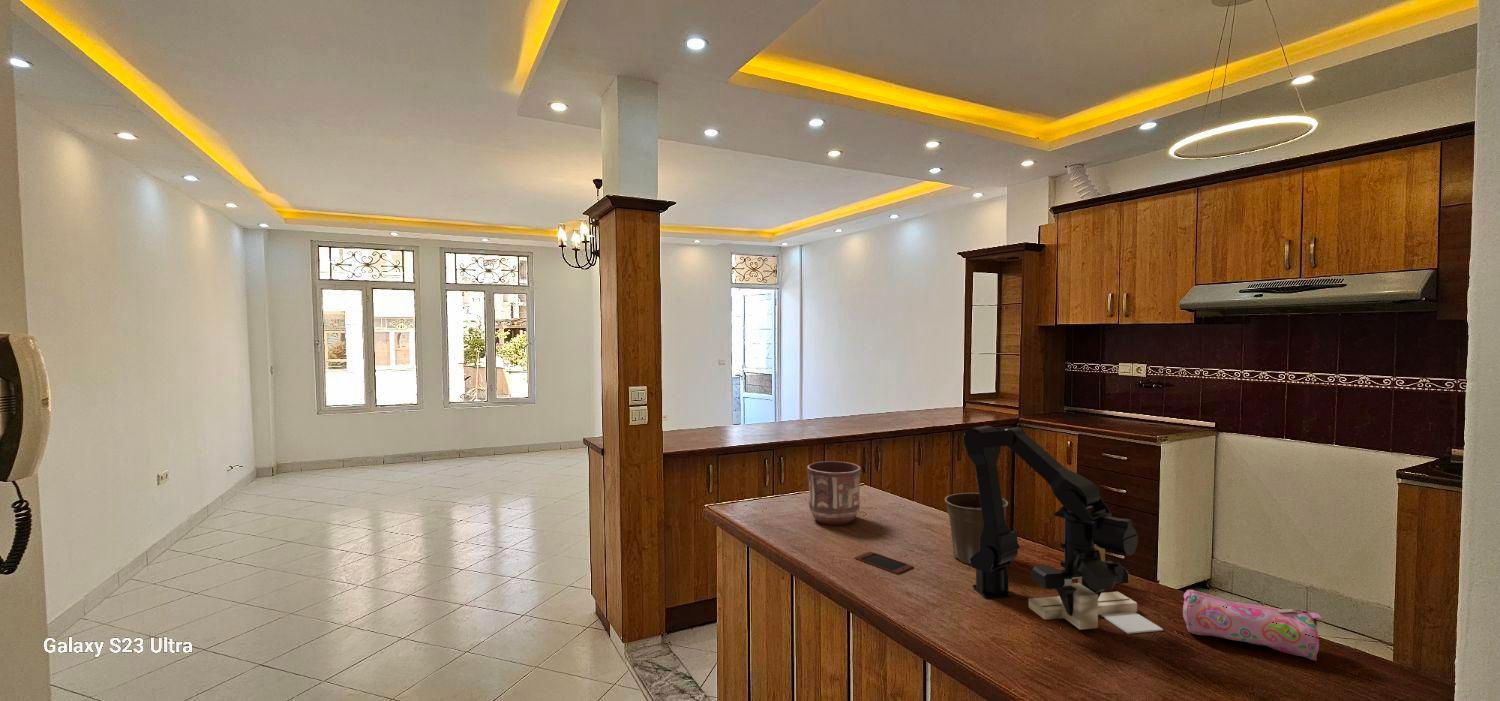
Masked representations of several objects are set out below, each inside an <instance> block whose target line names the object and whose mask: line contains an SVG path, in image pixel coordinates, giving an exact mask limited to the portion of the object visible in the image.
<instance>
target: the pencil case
mask: <svg viewBox="0 0 1500 701" xmlns="http://www.w3.org/2000/svg"><path fill="white" fill-rule="evenodd" d="M1183 598H1184V599H1183V607H1182V615H1183V620H1184V622H1185V625H1186V628H1187V631H1188V633H1191V634H1193V635H1197V636H1206V637H1207V636H1210V637H1216V638H1222V639H1226V640H1229V641H1230V640H1231V641H1237V642H1238V641H1239V642H1245V643H1248V644H1252V645H1258V646H1266V647H1268V648H1271V649H1273V650H1275V651H1278V652H1280V653H1285V654H1290V655H1293V656H1297V657H1303V658H1305V659H1308V660H1310V661H1314V662H1316V661H1317V660H1318V659H1317V655H1318V653H1319V648H1320V638H1319V633H1318V632H1319V631H1318V628H1317V623H1318V622H1317V620H1319V621H1323V618H1322V616H1321V615H1320V614H1319V613H1317V612H1309V611H1308V610H1305V609H1303V610H1302V609H1300V608H1294V609H1291V608H1288V609H1284V608H1283V609H1282V608H1277V607H1269V606H1264V605H1259V604H1258V605H1256V604H1254V603H1253V604H1252V603H1251V604H1250V603H1243V602H1237V601H1233V600H1227V599H1225V598H1224V599H1223V598H1221V597H1217V596H1214V595H1211V594H1208V593H1205V592H1201V591H1198V590H1194V589H1186V591H1185V592H1184V594H1183ZM1223 606H1224V607H1223ZM1226 607H1227V608H1226ZM1272 622H1274V623H1272ZM1276 623H1277V624H1276ZM1305 634H1307V635H1305ZM1308 635H1310V636H1308ZM1312 636H1314V637H1312ZM1315 637H1318V638H1319V639H1318V638H1315Z"/></svg>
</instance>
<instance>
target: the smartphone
mask: <svg viewBox="0 0 1500 701" xmlns="http://www.w3.org/2000/svg"><path fill="white" fill-rule="evenodd" d="M855 559H856V560H855ZM854 560H855V561H858V560H859V561H858V562H860V561H861V562H860V563H863V562H864V563H863V564H866V565H868V566H871V565H872V567H874V566H875V568H877V569H881V570H882V571H886V572H889V573H891V574H894V575H896V576H898V575H902V574H904V573H907V572H909V571H910V570H914V569H915V567H914V566H913V565H911V564H909V563H906V562H904V561H901V560H896V559H894V558H891V557H888V556H885V555H883V554H879V553H878V552H877V553H876V552H874V551H868V552H865V553H862V554H860V555H857V556H855V557H854Z"/></svg>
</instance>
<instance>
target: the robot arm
mask: <svg viewBox="0 0 1500 701" xmlns="http://www.w3.org/2000/svg"><path fill="white" fill-rule="evenodd" d="M962 441H963V444H964V448H965V450H966V454H967V456H968V458H969V459H970V460H971V462H972V464H974V468H975V473H976V480H977V489H978V493H979V496H980V503H981V509H982V516H983V523H984V527H983V530H982V533H981V536H980V551H979V552H978V553H976V554H975V555H974V556H972V557H971V558H970V561H971V568H973V569H975V584H972V588H973V589H974V590H975V591H977V593H979V594H980V595H981V596H983V597H984V598H985V599H989V598H1001V597H1002V598H1004V597H1012V595H1011V594H1012V593H1010V592H1009V589H1010V588H1009V586H1010V584H1009V582H1010V581H1009V580H1010V577H1009V573H1008V567H1009V566H1011V564H1012V562H1013V561H1014V560H1015V558H1016V557H1018V553H1019V552H1018V551H1019V550H1020V548H1021V547H1020V546H1019V541H1018V533H1017V531H1016V530H1015V531H1011V529H1010V528H1009V526H1008V525H1007V523H1006V515H1005V516H1004V509H1003V503H1002V498H1003V497H1002V491H1001V484H1000V479H999V471H998V465H997V464H998V459H999V456H1000V454H1001V451H1002V450H1001V447H1008V448H1009V449H1010V450H1011V451H1013V452H1014V453H1015V454H1016V456H1018V457H1019V458H1020V459H1021V460H1022V461H1023V462H1024V463H1025V464H1027V465H1028V466H1029V467H1030V468H1031V469H1033V471H1034V472H1036V473H1037V475H1039V476H1040V477H1041V478H1042V479H1043V480H1045V482H1046V483H1047V484H1048V485H1049V486H1050V489H1051V491H1052V495H1053V496H1054V497H1055V498H1056V499H1057V500H1058V501H1059V503H1060V505H1061V507H1060V508H1059V510H1056V511H1055V512H1053V515H1054V517H1057V518H1062V519H1064V527H1063V528H1064V538H1063V539H1064V540H1063V541H1060V548H1062V549H1064V554H1063V555H1064V560H1060V566H1061V567H1062V568H1063V569H1064V570H1063V569H1061V570H1060V569H1059V570H1058V569H1056V568H1055V567H1053V566H1052V565H1050V564H1047V565H1035V566H1033V567H1032V569H1031V570H1030V573H1031V574H1030V576H1031V577H1030V578H1031V580H1033V581H1035V583H1037V584H1039V585H1040V586H1042V587H1043V588H1045V589H1047V590H1048V589H1049V590H1056V592H1057V594H1058V596H1060V598H1061V600H1062V602H1063V605H1064V607H1065V609H1066V611H1067V614H1068V615H1070V616H1072V614H1073V593H1074V592H1075V591H1076V590H1077V589H1076V588H1075V587H1073V586H1072V583H1073V580H1076V579H1083V586H1085V587H1086V588H1088V589H1090V590H1091V591H1093V592H1094V593H1096V594H1098V598H1099V596H1100V594H1101V593H1103V591H1106V590H1108V591H1111V590H1113V589H1114V586H1115V584H1117V585H1119V584H1129V582H1130V575H1129V574H1130V573H1129V571H1128V570H1127V569H1126V568H1125V567H1123V566H1122V564H1121V563H1120V562H1119V561H1117V562H1113V561H1112V560H1106V561H1101V558H1100V552H1099V550H1098V549H1096V548H1095V544H1096V545H1097V546H1098V547H1100V548H1103V549H1105V550H1106V551H1110V552H1115V553H1117V554H1121V555H1125V556H1133V554H1134V553H1136V550H1137V547H1138V543H1139V535H1138V534H1137V533H1138V532H1137V530H1136V528H1135V527H1134V526H1133V520H1131V519H1128V518H1120V517H1114V516H1112V515H1113V514H1112V512H1111V510H1110V508H1109V507H1108V505H1107V504H1106V502H1105V501H1104V499H1103V498H1102V496H1101V494H1100V489H1099V487H1098V486H1097V485H1096V483H1094V482H1092V481H1091V480H1090V479H1088V478H1086V477H1084V476H1083V475H1081V474H1080V473H1077V472H1075V471H1072V470H1069V469H1068V468H1066V467H1064V465H1062V464H1061V463H1060V462H1059V461H1058V460H1057V459H1055V458H1054V457H1053V456H1052V455H1051V454H1049V453H1048V452H1047V450H1045V449H1044V448H1043V447H1041V446H1040V445H1039V444H1038V443H1037V442H1036V441H1035V440H1033V438H1031V437H1030V436H1029V435H1028V434H1027V433H1026V432H1025V430H1024V429H1022V428H1020V427H1011V428H995V427H993V426H991V425H985V426H977V427H973V428H972V427H971V428H969V429H967V430H966V431H965V433H964V434H963V439H962ZM1090 508H1093V509H1092V510H1088V509H1090Z"/></svg>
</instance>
